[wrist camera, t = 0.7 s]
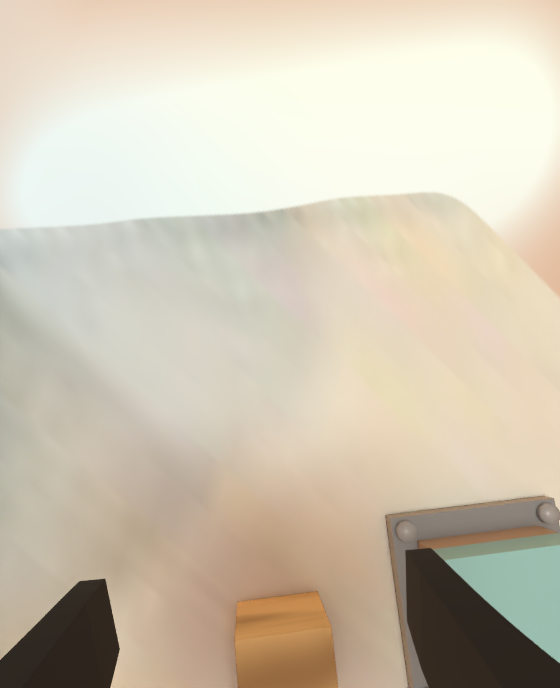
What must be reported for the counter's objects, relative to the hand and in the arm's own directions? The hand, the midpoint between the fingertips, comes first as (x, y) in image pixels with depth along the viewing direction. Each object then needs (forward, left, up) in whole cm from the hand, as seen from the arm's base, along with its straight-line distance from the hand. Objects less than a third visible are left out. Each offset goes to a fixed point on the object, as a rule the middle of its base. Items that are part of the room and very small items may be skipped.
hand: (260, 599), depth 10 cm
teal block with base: (-8, -14, -18) cm, 24 cm away
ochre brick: (-9, -1, -18) cm, 20 cm away
